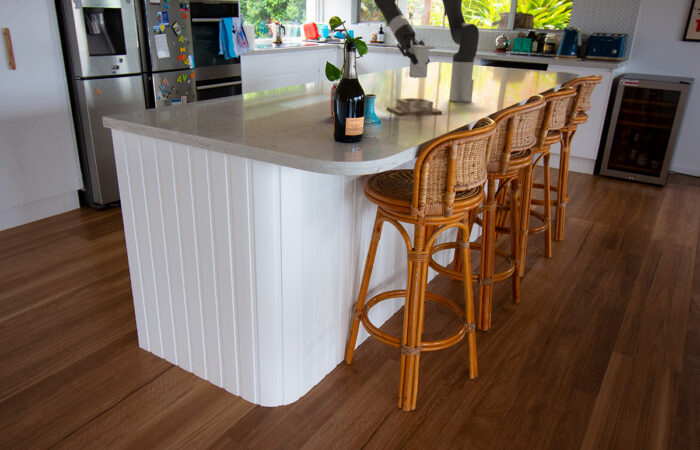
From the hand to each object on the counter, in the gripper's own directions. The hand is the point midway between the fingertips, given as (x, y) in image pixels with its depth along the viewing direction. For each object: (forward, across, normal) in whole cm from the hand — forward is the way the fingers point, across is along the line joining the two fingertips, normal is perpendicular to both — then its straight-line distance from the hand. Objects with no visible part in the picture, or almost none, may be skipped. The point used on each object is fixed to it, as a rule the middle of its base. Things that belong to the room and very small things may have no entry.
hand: (422, 63), depth 216 cm
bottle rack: (+14, -5, +12) cm, 19 cm away
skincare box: (+3, 0, +5) cm, 6 cm away
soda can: (+8, -35, +20) cm, 41 cm away
